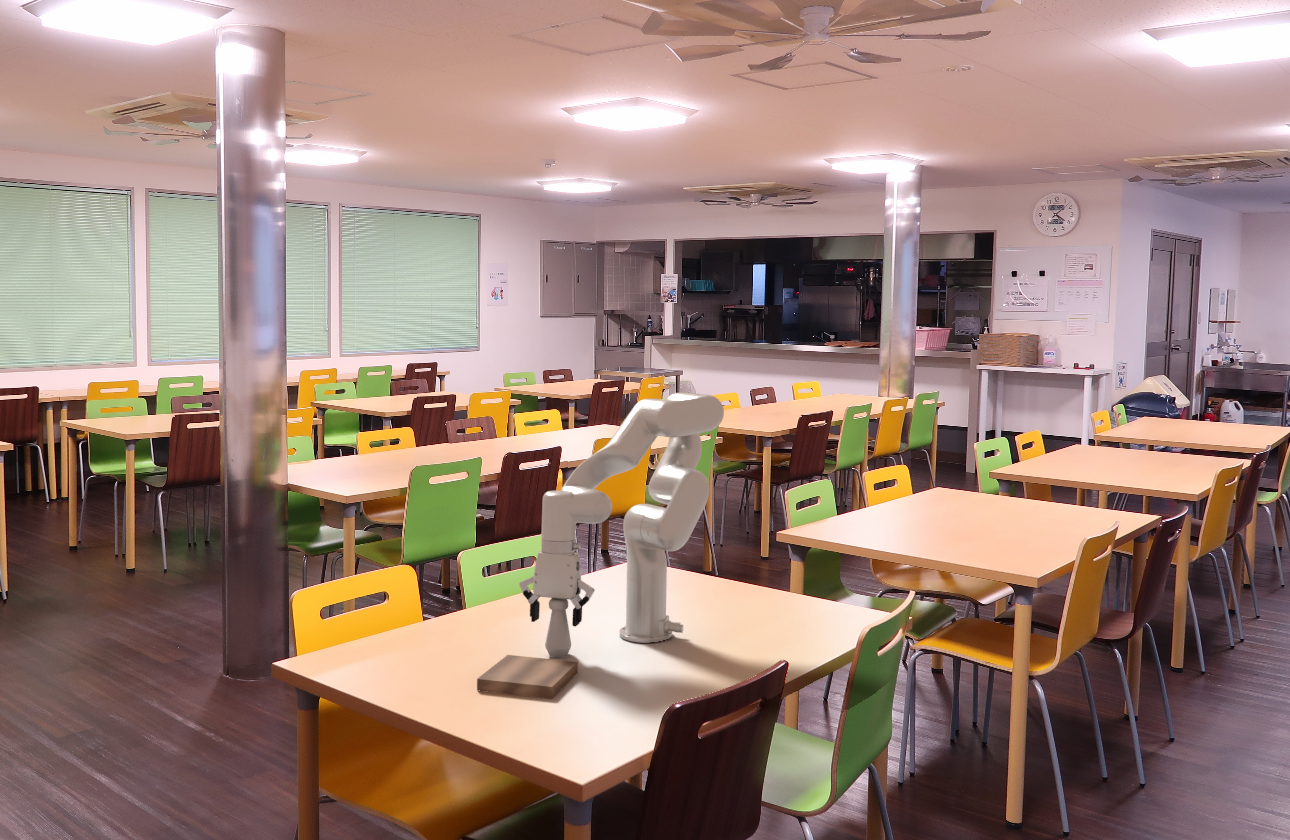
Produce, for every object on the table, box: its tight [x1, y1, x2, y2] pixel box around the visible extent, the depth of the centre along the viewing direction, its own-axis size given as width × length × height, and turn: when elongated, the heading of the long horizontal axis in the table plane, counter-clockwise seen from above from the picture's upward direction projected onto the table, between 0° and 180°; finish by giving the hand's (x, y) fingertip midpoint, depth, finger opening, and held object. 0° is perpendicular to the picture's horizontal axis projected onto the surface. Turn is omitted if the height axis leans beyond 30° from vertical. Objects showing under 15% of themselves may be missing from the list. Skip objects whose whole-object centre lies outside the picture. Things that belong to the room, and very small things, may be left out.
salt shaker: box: [544, 598, 572, 659], centre depth 231 cm, size 6×6×13 cm
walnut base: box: [476, 654, 579, 700], centre depth 215 cm, size 16×16×3 cm
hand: (555, 622), depth 231 cm, fingers open, 9 cm apart
